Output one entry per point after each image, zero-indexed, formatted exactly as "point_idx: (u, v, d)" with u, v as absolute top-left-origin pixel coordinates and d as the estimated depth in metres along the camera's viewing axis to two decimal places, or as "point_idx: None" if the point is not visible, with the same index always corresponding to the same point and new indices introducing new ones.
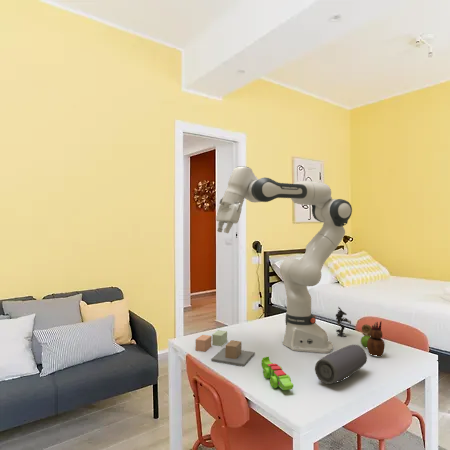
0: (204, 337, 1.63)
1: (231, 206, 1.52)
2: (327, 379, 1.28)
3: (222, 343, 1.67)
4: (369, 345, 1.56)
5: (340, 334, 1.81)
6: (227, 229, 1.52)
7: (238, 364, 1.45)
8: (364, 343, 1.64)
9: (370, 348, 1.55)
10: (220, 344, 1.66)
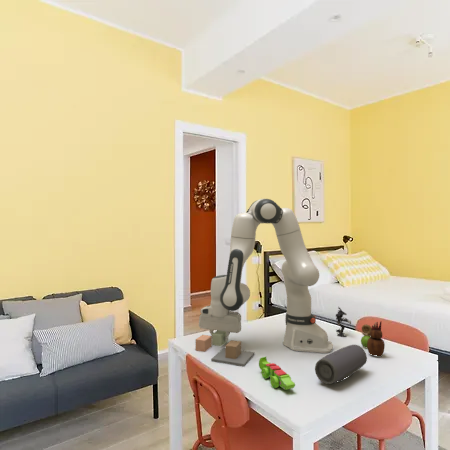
0: (204, 337, 1.63)
1: (230, 318, 1.66)
2: (327, 379, 1.28)
3: (222, 343, 1.67)
4: (369, 345, 1.56)
5: (340, 334, 1.81)
6: (227, 337, 1.69)
7: (238, 364, 1.45)
8: (364, 343, 1.64)
9: (370, 348, 1.55)
10: (220, 344, 1.66)
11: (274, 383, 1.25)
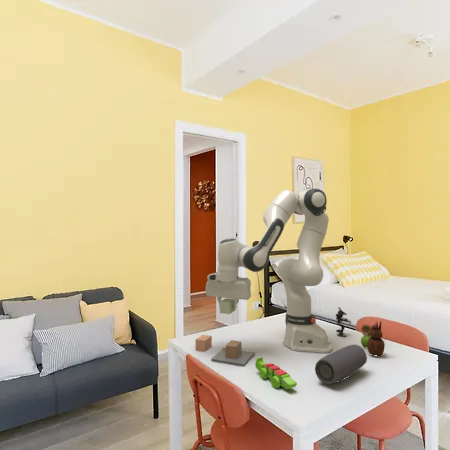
0: (204, 337, 1.63)
1: (239, 284, 1.55)
2: (327, 379, 1.28)
3: (230, 310, 1.57)
4: (369, 345, 1.56)
5: (340, 334, 1.81)
6: (235, 305, 1.58)
7: (238, 364, 1.45)
8: (364, 343, 1.64)
9: (370, 348, 1.55)
10: (228, 311, 1.56)
11: (275, 383, 1.25)
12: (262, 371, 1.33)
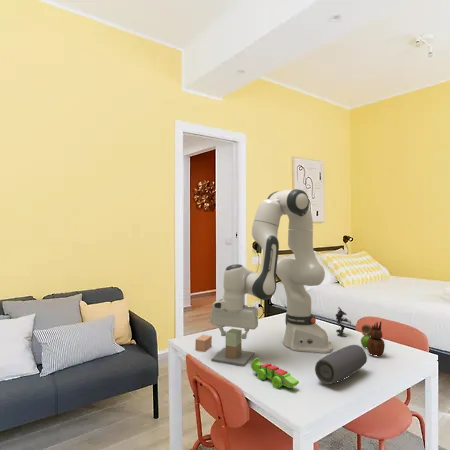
0: (204, 337, 1.63)
1: (246, 313, 1.49)
2: (327, 379, 1.28)
3: (237, 343, 1.50)
4: (369, 345, 1.56)
5: (340, 334, 1.81)
6: (245, 335, 1.51)
7: (238, 364, 1.45)
8: (364, 343, 1.64)
9: (370, 348, 1.55)
10: (234, 344, 1.49)
11: (278, 383, 1.25)
12: (260, 372, 1.32)
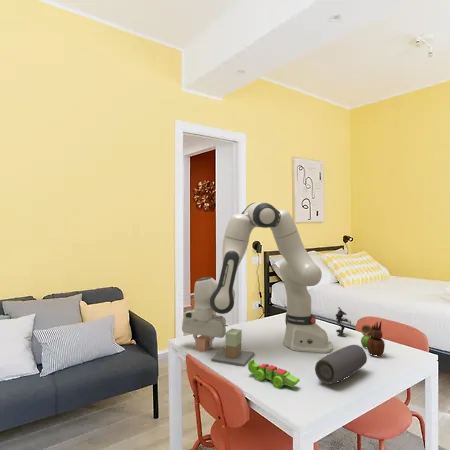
0: (204, 337, 1.63)
1: (214, 322, 1.59)
2: (327, 379, 1.28)
3: (237, 343, 1.50)
4: (369, 345, 1.56)
5: (340, 334, 1.81)
6: (211, 342, 1.62)
7: (238, 364, 1.45)
8: (364, 343, 1.64)
9: (370, 348, 1.55)
10: (234, 344, 1.49)
11: (279, 383, 1.25)
12: (259, 373, 1.31)
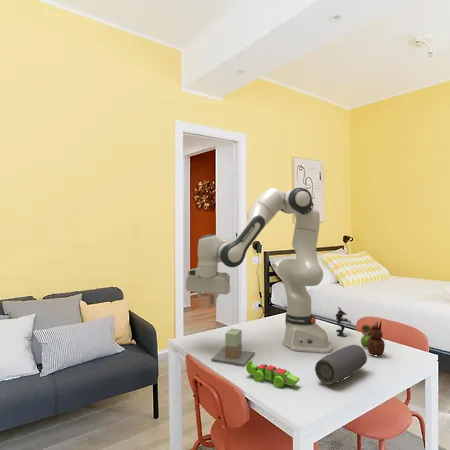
0: (208, 295, 1.61)
1: (218, 279, 1.58)
2: (327, 379, 1.28)
3: (237, 343, 1.50)
4: (369, 345, 1.56)
5: (340, 334, 1.81)
6: (215, 300, 1.60)
7: (238, 364, 1.45)
8: (364, 343, 1.64)
9: (370, 348, 1.55)
10: (234, 344, 1.49)
11: (280, 383, 1.26)
12: (258, 374, 1.31)
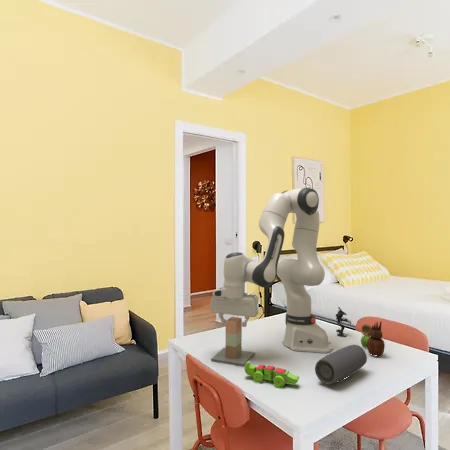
0: (234, 319, 1.52)
1: (246, 301, 1.48)
2: (327, 379, 1.28)
3: (237, 343, 1.50)
4: (369, 345, 1.56)
5: (340, 334, 1.81)
6: (246, 323, 1.50)
7: (238, 364, 1.45)
8: (364, 343, 1.64)
9: (370, 348, 1.55)
10: (234, 344, 1.49)
11: (281, 382, 1.26)
12: (258, 374, 1.30)
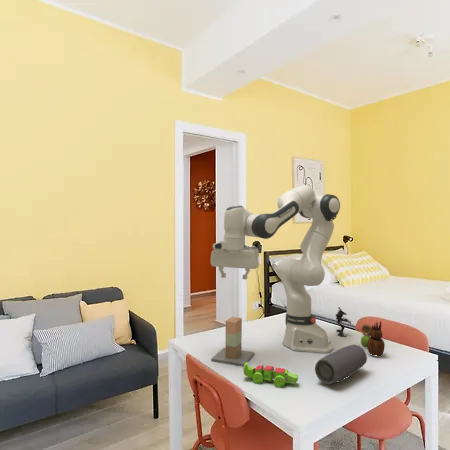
0: (234, 319, 1.52)
1: (246, 253, 1.48)
2: (327, 379, 1.28)
3: (237, 343, 1.50)
4: (369, 345, 1.56)
5: (340, 334, 1.81)
6: (246, 275, 1.50)
7: (238, 364, 1.45)
8: (364, 343, 1.64)
9: (370, 348, 1.55)
10: (234, 344, 1.49)
11: (282, 382, 1.26)
12: (258, 375, 1.29)
